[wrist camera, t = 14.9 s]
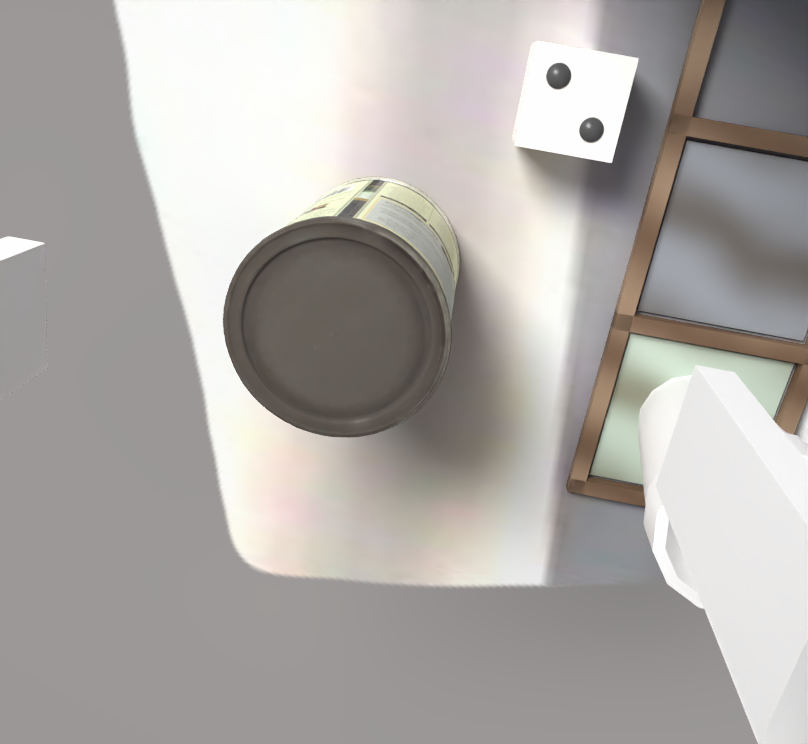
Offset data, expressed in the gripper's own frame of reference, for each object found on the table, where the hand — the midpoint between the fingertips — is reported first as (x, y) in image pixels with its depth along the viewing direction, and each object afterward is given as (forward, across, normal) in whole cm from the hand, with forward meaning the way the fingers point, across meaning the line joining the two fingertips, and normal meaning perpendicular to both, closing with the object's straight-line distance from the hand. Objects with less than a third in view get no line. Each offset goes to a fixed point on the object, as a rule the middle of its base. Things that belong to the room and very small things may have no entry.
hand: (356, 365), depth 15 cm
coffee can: (+32, -3, -6) cm, 33 cm away
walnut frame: (+32, +18, -1) cm, 36 cm away
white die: (+32, +6, +5) cm, 33 cm away
